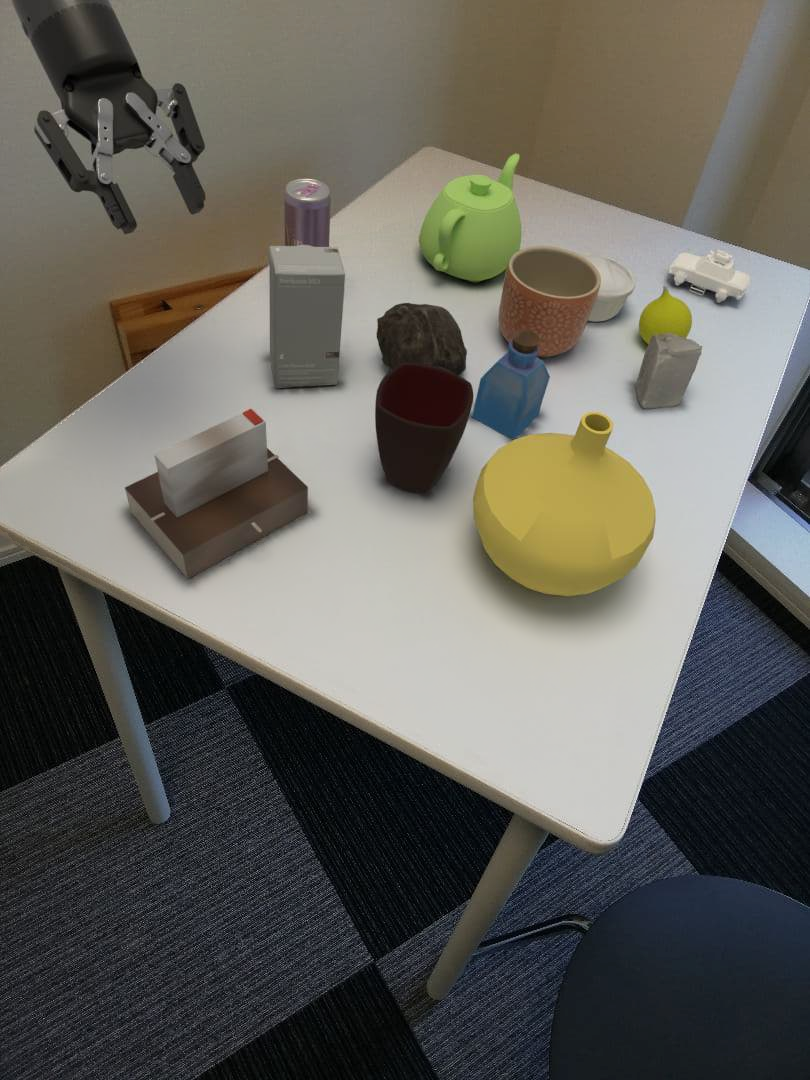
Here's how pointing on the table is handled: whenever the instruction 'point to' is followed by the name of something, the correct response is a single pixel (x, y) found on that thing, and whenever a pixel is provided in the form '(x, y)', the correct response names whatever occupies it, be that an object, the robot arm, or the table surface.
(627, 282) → the ramekin
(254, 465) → the red-tipped metal bar
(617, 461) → the vase
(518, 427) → the perfume bottle
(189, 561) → the brown rectangular plinth
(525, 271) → the planter
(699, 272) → the toy car
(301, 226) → the beverage can
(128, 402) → the table surface
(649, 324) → the ornament
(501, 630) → the table surface
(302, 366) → the cosmetic box
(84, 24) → the robot arm
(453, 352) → the rock
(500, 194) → the teapot
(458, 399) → the mug
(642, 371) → the mineral specimen
